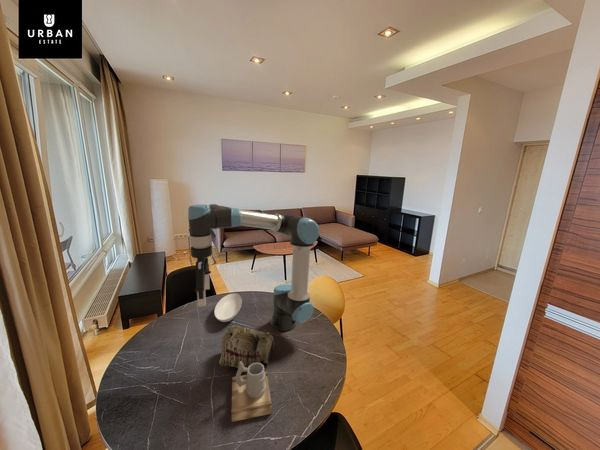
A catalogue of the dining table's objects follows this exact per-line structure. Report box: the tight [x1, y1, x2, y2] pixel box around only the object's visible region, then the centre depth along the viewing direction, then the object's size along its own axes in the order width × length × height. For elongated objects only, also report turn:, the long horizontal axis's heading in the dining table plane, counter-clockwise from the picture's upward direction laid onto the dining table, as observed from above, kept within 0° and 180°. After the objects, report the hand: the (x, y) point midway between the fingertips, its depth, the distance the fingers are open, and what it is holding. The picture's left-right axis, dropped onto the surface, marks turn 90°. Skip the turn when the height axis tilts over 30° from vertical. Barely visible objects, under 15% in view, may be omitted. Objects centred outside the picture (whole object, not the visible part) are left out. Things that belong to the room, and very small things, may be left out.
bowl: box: [214, 293, 243, 323], centre depth 150 cm, size 30×15×6 cm, turn 3°
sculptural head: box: [218, 324, 275, 369], centre depth 113 cm, size 17×21×25 cm
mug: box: [235, 361, 266, 398], centre depth 94 cm, size 8×12×12 cm, turn 84°
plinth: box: [231, 370, 273, 423], centre depth 94 cm, size 14×16×4 cm
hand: (204, 296), depth 97 cm, fingers open, 13 cm apart
